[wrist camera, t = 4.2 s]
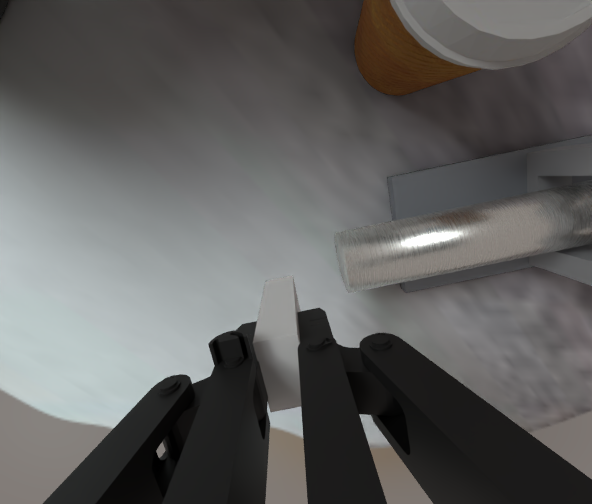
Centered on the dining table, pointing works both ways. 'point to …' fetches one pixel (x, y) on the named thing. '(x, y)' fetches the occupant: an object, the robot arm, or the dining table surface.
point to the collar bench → (495, 185)
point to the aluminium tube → (465, 237)
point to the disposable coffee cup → (459, 38)
